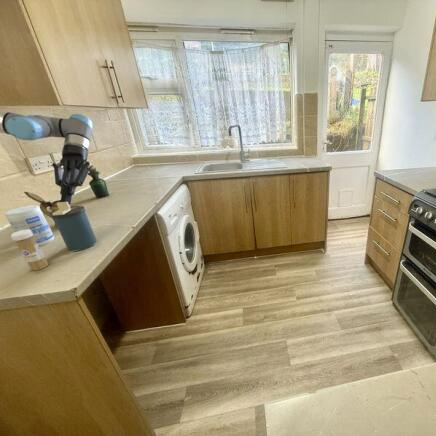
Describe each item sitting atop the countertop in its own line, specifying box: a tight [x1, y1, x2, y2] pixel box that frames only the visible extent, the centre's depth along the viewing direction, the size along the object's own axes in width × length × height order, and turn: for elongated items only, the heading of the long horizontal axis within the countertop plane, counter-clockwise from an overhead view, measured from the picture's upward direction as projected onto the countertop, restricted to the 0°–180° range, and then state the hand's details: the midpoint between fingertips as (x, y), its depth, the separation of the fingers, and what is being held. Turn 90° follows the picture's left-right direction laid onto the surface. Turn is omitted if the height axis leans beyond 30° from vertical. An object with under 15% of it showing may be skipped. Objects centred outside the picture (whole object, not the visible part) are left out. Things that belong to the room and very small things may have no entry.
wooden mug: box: [23, 191, 72, 227], centre depth 112 cm, size 9×14×18 cm, turn 126°
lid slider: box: [52, 202, 71, 215], centre depth 86 cm, size 4×3×3 cm
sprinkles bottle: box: [10, 230, 50, 271], centre depth 80 cm, size 5×5×13 cm
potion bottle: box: [87, 167, 110, 199], centre depth 150 cm, size 8×8×18 cm
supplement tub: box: [4, 205, 55, 247], centre depth 96 cm, size 10×10×15 cm
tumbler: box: [51, 205, 97, 253], centre depth 93 cm, size 10×10×15 cm
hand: (65, 202), depth 89 cm, fingers closed
